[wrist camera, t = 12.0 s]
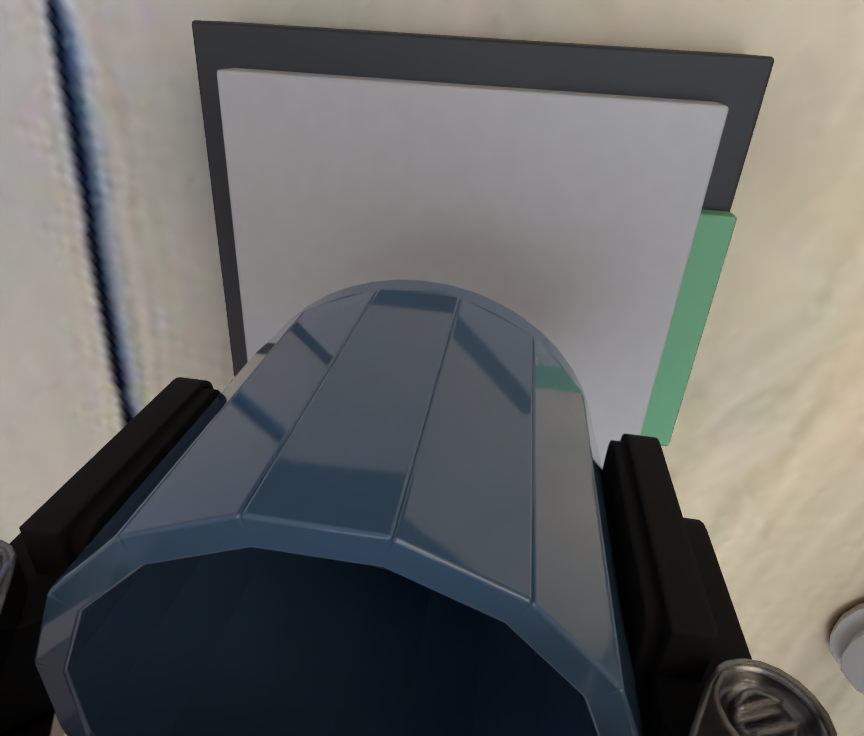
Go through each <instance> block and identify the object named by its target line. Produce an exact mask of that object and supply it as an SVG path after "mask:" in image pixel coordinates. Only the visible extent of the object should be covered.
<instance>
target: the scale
mask: <svg viewBox="0 0 864 736" xmlns="http://www.w3.org/2000/svg"><path fill="white" fill-rule="evenodd" d="M192 29H193V37H194V46H195V54H196V62H197V71H198V79H199V87H200V95H201V104H202V112H203V120H204V129H205V137H206V145H207V153H208V162H209V170H210V178H211V187H212V195H213V203H214V211H215V220H216V228H217V236H218V245H219V253H220V261H221V269H222V278H223V286H224V294H225V303H226V311H227V319H228V327H229V336H230V344H231V352H232V361H233V369H234V377H235V376H236V375H237V374H238V373H239V372H240V371H241V369H242V368H243V367H244V366H245V365H246V364H247V363H248V361H249V360H250V359H251V358H252V357H253V356H254V355H255V353H256V352H257V351H258V350H259V349H261V348H262V347H263V346H264V345H265V344H266V343H267V342H269V341H270V340H271V339H272V338H273V337H274V336H275V335H276V333H277V332H278V331H279V330H280V329H281V328H282V327H283V326H284V325H285V324H286V323H287V322H288V321H289V320H290V319H291V318H292V317H294V316H295V315H296V314H297V313H299V312H300V311H301V310H303V309H304V308H305V307H307V306H308V305H310V304H312V303H314V302H316V301H317V300H319V299H321V298H323V297H325V296H327V295H329V294H331V293H334V292H337V291H340V290H342V289H345V288H348V287H351V286H356V285H360V284H365V283H369V282H375V281H386V280H398V279H399V280H422V281H430V282H435V283H441V284H447V285H452V286H455V287H459V288H462V289H465V290H469V291H472V292H475V293H478V294H480V295H482V296H484V297H487V298H489V299H491V300H494V301H496V302H498V303H500V304H502V305H503V306H505V307H507V308H508V309H510V310H512V311H513V312H515V313H517V314H518V315H520V316H522V317H523V318H524V319H525V320H527V321H528V322H529V323H531V324H532V325H533V326H534V327H536V328H537V329H538V330H540V331H541V332H542V333H543V334H544V335H545V336H546V337H547V338H548V339H549V340H550V341H551V342H552V343H553V344H554V345H555V347H556V348H557V349H558V350H559V351H560V353H561V354H562V355H563V357H564V358H565V359H566V361H567V362H568V363H569V365H570V366H571V367H572V369H573V371H574V373H575V375H576V377H577V379H578V380H579V382H580V384H581V386H582V388H583V391H584V394H585V397H586V399H587V402H588V405H589V408H590V414H591V419H592V425H593V430H594V435H595V438H596V442H597V446H598V449H599V453H600V459H601V465H602V469H603V465H604V461H605V456H606V452H607V448H608V445H609V442H610V441H611V440H615V441H620V440H621V437H622V435H623V434H624V433H625V434H633V435H641V436H649V437H656V438H658V440H659V442H660V445H663V446H668V445H669V442H670V439H671V435H672V432H673V429H674V425H675V422H676V419H677V415H678V412H679V409H680V405H681V402H682V399H683V396H684V392H685V389H686V386H687V382H688V379H689V376H690V372H691V369H692V366H693V362H694V359H695V356H696V352H697V349H698V346H699V342H700V339H701V336H702V333H703V329H704V326H705V323H706V319H707V316H708V313H709V309H710V306H711V303H712V299H713V296H714V293H715V289H716V286H717V283H718V280H719V276H720V273H721V270H722V266H723V263H724V260H725V256H726V253H727V250H728V246H729V243H730V240H731V236H732V233H733V230H734V227H735V223H736V220H737V218H736V217H735V216H734V215H733V214H732V213H731V212H730V209H731V206H732V203H733V199H734V196H735V192H736V189H737V186H738V182H739V179H740V175H741V172H742V169H743V165H744V162H745V158H746V155H747V152H748V148H749V145H750V141H751V138H752V135H753V131H754V128H755V124H756V121H757V118H758V114H759V111H760V107H761V104H762V101H763V97H764V94H765V90H766V87H767V84H768V80H769V77H770V73H771V70H772V67H773V63H774V58H772V57H769V56H758V55H746V54H732V53H716V52H700V51H685V50H669V49H653V48H637V47H621V46H605V45H589V44H574V43H558V42H542V41H526V40H510V39H494V38H479V37H463V36H447V35H431V34H415V33H399V32H384V31H368V30H352V29H336V28H320V27H304V26H289V25H273V24H257V23H241V22H222V21H201V20H195V21H193V22H192Z"/></svg>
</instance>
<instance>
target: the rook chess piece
mask: <svg viewBox="0 0 864 736" xmlns="http://www.w3.org/2000/svg"><path fill="white" fill-rule="evenodd" d="M829 650H830V652H831V653H832V655H833V656H834V658H835V659H836V661H837V662H838V663H839V664H841V670H842V672H843V673H844V675H845V676H846V678H847V679H848V681H849V682H850V683H851V684H852V686H853V687H854V688H855V689H856V690H857V691H859V692H861V693H863V694H864V603H861V604H858V605H856V606H855V607H853V608H852V609H850V610H848V611H847V612H845V613H844V614H842V616H841V617H840V618H839V620H838V621H837V623H836V624H835V625H834V627H833V630H832V633H831V635H830V649H829Z"/></svg>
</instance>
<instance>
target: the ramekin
mask: <svg viewBox="0 0 864 736" xmlns="http://www.w3.org/2000/svg"><path fill="white" fill-rule="evenodd" d="M34 660H35V666H36V669H37V671H38V673H39V676H40V678H41V681H42V683H43V685H44V688H45V690H46V693H47V695H48V697H49V700H50V702H51V704H52V707H53V709H54V712H55V714H56V716H57V719H58V721H59V724H60V726H61V728H62V730H64V732H65V734H66V735H67V736H644V732H643V726H642V719H641V713H640V707H639V700H638V694H637V688H636V681H635V675H634V669H633V663H632V656H631V650H630V644H629V637H628V631H627V625H626V618H625V612H624V605H623V599H622V593H621V586H620V580H619V574H618V567H617V561H616V555H615V548H614V542H613V535H612V529H611V523H610V516H609V510H608V504H607V497H606V491H605V484H604V478H603V472H602V465H601V459H600V453H599V449H598V446H597V442H596V438H595V435H594V430H593V425H592V419H591V414H590V408H589V405H588V402H587V399H586V397H585V394H584V391H583V388H582V386H581V384H580V382H579V380H578V379H577V377H576V375H575V373H574V371H573V369H572V367H571V366H570V365H569V363H568V362H567V361H566V359H565V358H564V357H563V355H562V354H561V353H560V351H559V350H558V349H557V348H556V347H555V345H554V344H553V343H552V342H551V341H550V340H549V339H548V338H547V337H546V336H545V335H544V334H543V333H542V332H541V331H540V330H538V329H537V328H536V327H534V326H533V325H532V324H531V323H529V322H528V321H527V320H525V319H524V318H523V317H522V316H520V315H518V314H517V313H515V312H513V311H512V310H510V309H508V308H507V307H505V306H503V305H502V304H500V303H498V302H496V301H494V300H491V299H489V298H487V297H484V296H482V295H480V294H478V293H475V292H472V291H469V290H465V289H462V288H459V287H455V286H452V285H447V284H441V283H435V282H430V281H422V280H399V279H398V280H386V281H375V282H369V283H365V284H360V285H356V286H351V287H348V288H345V289H342V290H340V291H337V292H334V293H331V294H329V295H327V296H325V297H323V298H321V299H319V300H317V301H316V302H314V303H312V304H310V305H308V306H307V307H305V308H304V309H303V310H301V311H300V312H299V313H297V314H296V315H295V316H294V317H292V318H291V319H290V320H289V321H288V322H287V323H286V324H285V325H284V326H283V327H282V328H281V329H280V330H279V331H278V332H277V333H276V335H275V336H274V337H273V338H272V339H271V340H270V341H269V342H267V343H266V344H265V345H264V346H263V347H262V348H261V349H259V350H258V351H257V352H256V353H255V355H254V356H253V357H252V358H251V359H250V360H249V361H248V363H247V364H246V365H245V366H244V367H243V368H242V369H241V371H240V372H239V373H238V374H237V375H236V376H235V377H234V379H233V380H232V381H231V382H230V383H229V384H228V385H227V387H226V388H225V389H224V390H223V391H222V392H221V393H220V395H219V396H218V397H217V398H216V399H215V400H214V401H213V403H212V404H211V405H210V406H209V407H208V408H207V409H206V411H205V412H204V413H203V414H202V415H201V416H200V417H199V419H198V420H197V421H196V422H195V423H194V424H193V425H192V427H191V428H190V429H189V430H188V431H187V432H186V433H185V435H184V436H183V437H182V438H181V439H180V440H179V442H178V443H177V444H176V445H175V446H174V447H173V448H172V450H171V451H170V452H169V453H168V454H167V455H166V456H165V458H164V459H163V460H162V461H161V462H160V463H159V464H158V466H157V467H156V468H155V469H154V470H153V471H152V472H151V474H150V475H149V476H148V477H147V478H146V479H145V480H144V482H143V483H142V484H141V485H140V486H139V487H138V488H137V490H136V491H135V492H134V493H133V494H132V495H131V496H130V498H129V499H128V500H127V501H126V502H125V503H124V504H123V506H122V507H121V508H120V509H119V510H118V511H117V512H116V514H115V515H114V516H113V517H112V518H111V519H110V520H109V522H108V523H107V524H106V525H105V526H104V527H103V528H102V530H101V531H100V532H99V533H98V534H97V535H96V537H95V538H94V539H93V540H92V541H91V542H90V543H89V545H88V546H87V547H86V548H85V549H84V550H83V551H82V553H81V554H80V555H79V556H78V557H77V558H76V559H75V561H74V562H73V563H72V564H71V565H70V566H69V567H68V569H67V570H66V571H65V572H64V573H63V574H62V575H61V577H60V578H59V579H58V580H57V581H56V582H55V583H54V585H53V586H52V587H51V589H50V591H49V592H48V594H47V599H46V604H45V609H44V614H43V618H42V623H41V628H40V633H39V638H38V643H37V648H36V653H35V658H34Z"/></svg>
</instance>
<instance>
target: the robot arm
mask: <svg viewBox="0 0 864 736" xmlns="http://www.w3.org/2000/svg"><path fill="white" fill-rule="evenodd" d="M219 395H220V391H218V390H215V389H213V386H212V384H211V382H209V381H206V380H198V379H190V378H182V377H179V378H176V379H174V380H173V381H172V382H171V383H170V384H169V385H168V386H167V387H166V388H164V389H163V390H162V391H161V392H160V393H159V394H158V395H157V396H156V397H155V398H154V399H153V400H152V401H151V402H150V403H149V404H148V405H147V406H146V407H145V408H144V409H143V410H142V411H141V412H139V413H138V414H137V415H136V416H135V417H134V418H133V419H132V420H131V421H130V422H129V423H128V424H127V425H126V426H125V427H124V428H123V429H122V430H121V431H120V432H119V433H118V434H117V435H115V436H114V437H113V438H112V439H111V440H110V441H109V442H108V443H107V444H106V445H105V446H104V447H103V448H102V449H101V450H100V451H99V452H98V453H97V454H96V455H95V456H94V457H93V458H91V459H90V460H89V461H88V462H87V463H86V464H85V465H84V466H83V467H82V468H81V469H80V470H79V471H78V472H77V473H76V474H75V475H74V476H73V477H72V478H71V479H70V480H69V481H67V482H66V483H65V484H64V485H63V486H62V487H61V488H60V489H59V490H58V491H57V492H56V493H55V494H54V495H53V496H52V497H51V498H50V499H49V500H48V501H47V502H46V503H45V504H43V505H42V506H41V507H40V508H39V509H38V510H37V511H36V512H35V513H34V514H33V515H32V516H31V517H30V518H29V519H28V520H27V521H26V522H25V523H24V524H23V525H22V526H21V527H19V529H20V531H21V533H20V534H19V535H18V536H17V537H16V538H15V539H14V540H13V541H12V542H11V543H10V544H8V543H6V542H5V541H3V540H0V736H64V730H62V728H61V726H60V724H59V721H58V719H57V716H56V714H55V712H54V709H53V707H52V704H51V702H50V700H49V697H48V695H47V693H46V690H45V688H44V685H43V683H42V681H41V678H40V676H39V673H38V671H37V669H36V666H35V660H34V658H35V653H36V648H37V643H38V638H39V633H40V628H41V623H42V618H43V614H44V609H45V604H46V599H47V594H48V592H49V591H50V589H51V587H52V586H53V585H54V583H55V582H56V581H57V580H58V579H59V578H60V577H61V575H62V574H63V573H64V572H65V571H66V570H67V569H68V567H69V566H70V565H71V564H72V563H73V562H74V561H75V559H76V558H77V557H78V556H79V555H80V554H81V553H82V551H83V550H84V549H85V548H86V547H87V546H88V545H89V543H90V542H91V541H92V540H93V539H94V538H95V537H96V535H97V534H98V533H99V532H100V531H101V530H102V528H103V527H104V526H105V525H106V524H107V523H108V522H109V520H110V519H111V518H112V517H113V516H114V515H115V514H116V512H117V511H118V510H119V509H120V508H121V507H122V506H123V504H124V503H125V502H126V501H127V500H128V499H129V498H130V496H131V495H132V494H133V493H134V492H135V491H136V490H137V488H138V487H139V486H140V485H141V484H142V483H143V482H144V480H145V479H146V478H147V477H148V476H149V475H150V474H151V472H152V471H153V470H154V469H155V468H156V467H157V466H158V464H159V463H160V462H161V461H162V460H163V459H164V458H165V456H166V455H167V454H168V453H169V452H170V451H171V450H172V448H173V447H174V446H175V445H176V444H177V443H178V442H179V440H180V439H181V438H182V437H183V436H184V435H185V433H186V432H187V431H188V430H189V429H190V428H191V427H192V425H193V424H194V423H195V422H196V421H197V420H198V419H199V417H200V416H201V415H202V414H203V413H204V412H205V411H206V409H207V408H208V407H209V406H210V405H211V404H212V403H213V401H214V400H215V399H216V398H217V397H218V396H219ZM602 472H603V478H604V484H605V491H606V497H607V504H608V510H609V516H610V523H611V529H612V535H613V542H614V548H615V555H616V561H617V567H618V574H619V580H620V586H621V593H622V599H623V605H624V612H625V618H626V625H627V631H628V637H629V644H630V650H631V656H632V663H633V669H634V675H635V681H636V688H637V694H638V700H639V707H640V713H641V719H642V726H643V732H644V736H837V732H836V730H835V728H834V726H833V723H832V721H831V719H830V716H829V714H828V713H827V711H826V710H825V709H824V707H823V706H822V705H821V703H820V702H819V701H818V699H817V698H816V697H815V695H813V694H812V693H811V692H810V691H809V690H808V689H807V688H806V687H805V686H804V685H802V684H801V683H800V682H799V681H798V680H797V679H795V678H793V677H792V676H790V675H789V674H787V673H785V672H784V671H782V670H781V669H779V668H776V667H774V666H771V665H769V664H766V663H764V662H761V661H757V660H752V658H751V655H750V653H749V650H748V647H747V644H746V641H745V638H744V635H743V633H742V630H741V627H740V624H739V621H738V618H737V615H736V612H735V610H734V607H733V604H732V601H731V598H730V595H729V592H728V589H727V587H726V584H725V581H724V578H723V575H722V572H721V569H720V566H719V564H718V561H717V558H716V555H715V552H714V549H713V546H712V544H711V541H710V538H709V535H708V532H707V530H706V528H705V525H704V523H702V522H701V521H700V520H696V519H689V518H683V516H682V513H681V510H680V507H679V503H678V500H677V497H676V494H675V490H674V487H673V484H672V481H671V477H670V474H669V471H668V468H667V464H666V461H665V458H664V455H663V451H662V448H661V445H660V442H659V440H658V438H656V437H649V436H641V435H633V434H625V433H624V434H623V435H622V437H621V440H620V441H615V440H611V441H610V442H609V445H608V448H607V452H606V456H605V461H604V465H603V469H602Z"/></svg>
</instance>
